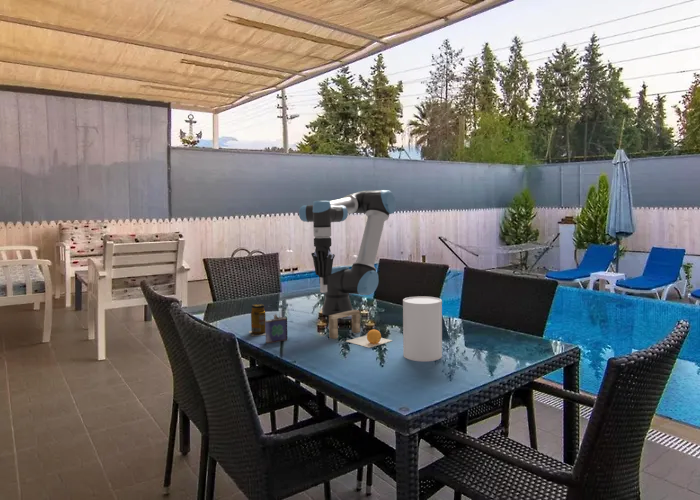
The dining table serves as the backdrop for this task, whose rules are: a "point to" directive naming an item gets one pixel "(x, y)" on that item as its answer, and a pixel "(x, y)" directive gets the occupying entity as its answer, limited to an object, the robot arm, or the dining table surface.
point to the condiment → (258, 320)
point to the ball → (374, 336)
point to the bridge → (333, 318)
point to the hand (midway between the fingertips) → (323, 292)
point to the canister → (422, 328)
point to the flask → (276, 329)
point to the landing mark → (364, 341)
